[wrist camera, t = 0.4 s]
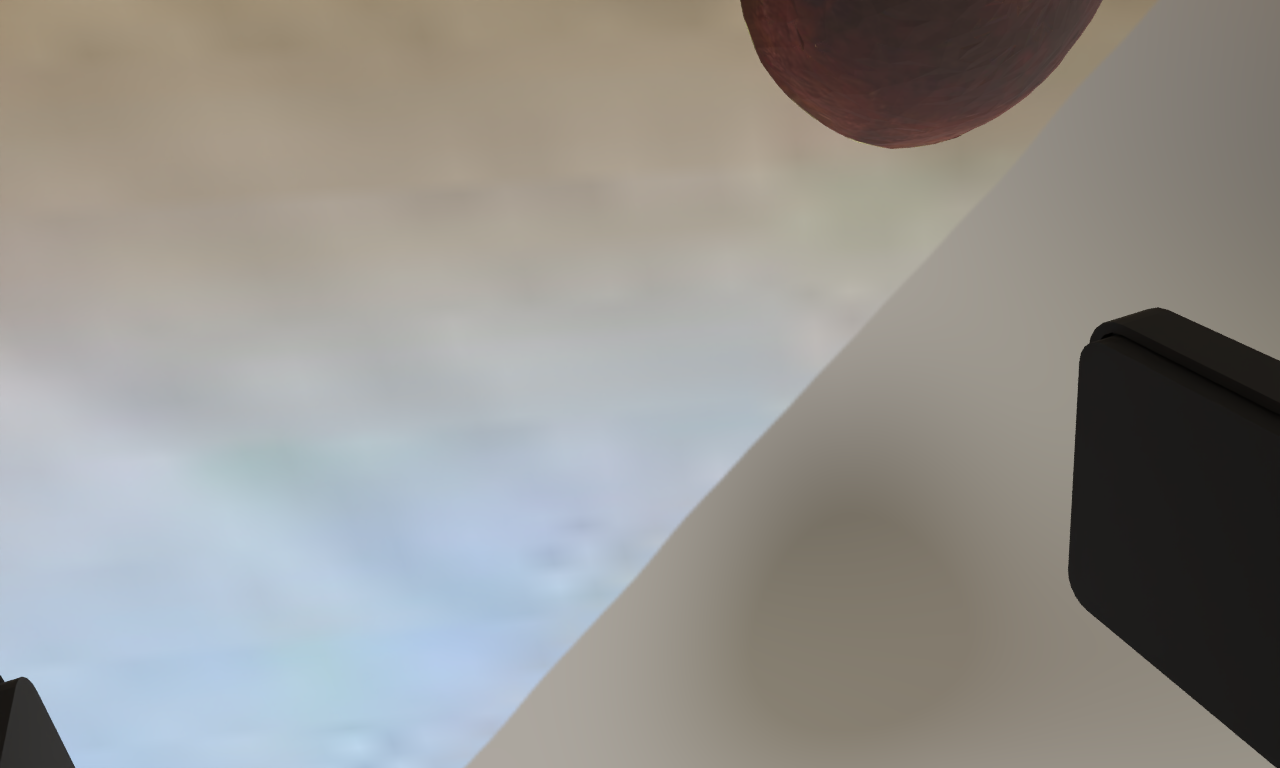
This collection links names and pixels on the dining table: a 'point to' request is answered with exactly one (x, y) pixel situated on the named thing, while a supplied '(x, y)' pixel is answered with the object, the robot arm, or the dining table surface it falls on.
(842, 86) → the decorative mushroom
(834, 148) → the dining table surface
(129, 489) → the dining table surface
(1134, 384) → the robot arm
